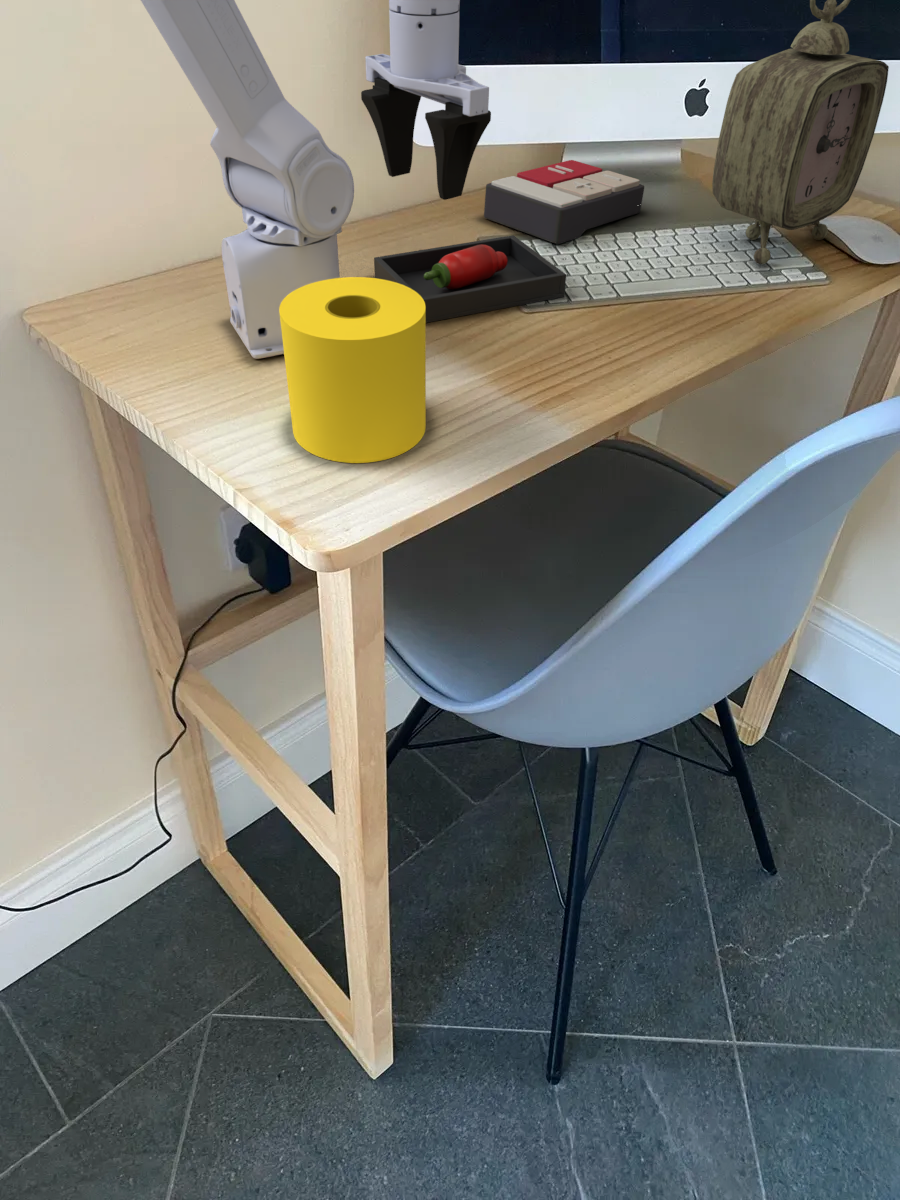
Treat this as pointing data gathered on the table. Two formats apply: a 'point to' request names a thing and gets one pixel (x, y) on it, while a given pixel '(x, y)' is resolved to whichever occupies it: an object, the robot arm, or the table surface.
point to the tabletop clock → (798, 131)
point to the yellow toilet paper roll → (355, 367)
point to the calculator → (562, 200)
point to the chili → (467, 267)
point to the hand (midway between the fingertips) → (424, 185)
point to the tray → (506, 288)
